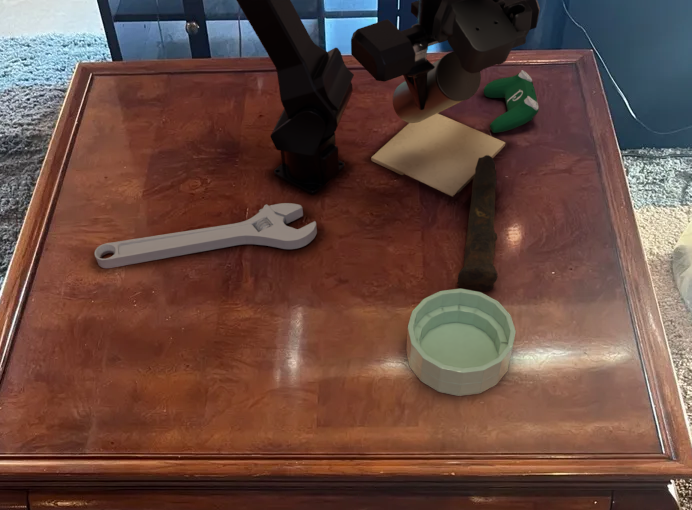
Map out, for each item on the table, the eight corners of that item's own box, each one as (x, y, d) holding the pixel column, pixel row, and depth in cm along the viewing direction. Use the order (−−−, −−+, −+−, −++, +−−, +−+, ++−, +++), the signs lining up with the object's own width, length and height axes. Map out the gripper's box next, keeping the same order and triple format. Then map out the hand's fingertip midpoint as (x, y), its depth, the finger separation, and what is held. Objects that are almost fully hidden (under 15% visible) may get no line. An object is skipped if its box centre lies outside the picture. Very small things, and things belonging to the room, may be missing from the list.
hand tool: (493, 297, 86) (499, 267, 83) (456, 292, 87) (460, 262, 83) (506, 179, 98) (512, 149, 94) (473, 176, 98) (477, 145, 94)
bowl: (387, 364, 82) (387, 337, 78) (443, 302, 86) (446, 273, 83) (473, 416, 77) (478, 390, 74) (527, 347, 82) (534, 320, 79)
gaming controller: (506, 147, 104) (545, 119, 100) (487, 130, 102) (527, 101, 98) (497, 102, 109) (534, 75, 106) (480, 86, 107) (517, 57, 104)
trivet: (370, 160, 101) (371, 157, 100) (425, 111, 106) (425, 107, 106) (452, 199, 96) (452, 195, 95) (505, 146, 101) (505, 142, 101)
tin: (383, 100, 92) (427, 73, 80) (411, 71, 92) (459, 40, 81) (411, 132, 93) (458, 110, 81) (439, 104, 94) (490, 78, 82)
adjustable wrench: (97, 271, 91) (92, 261, 90) (101, 231, 95) (97, 220, 94) (316, 247, 92) (315, 236, 90) (311, 209, 96) (310, 197, 94)
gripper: (410, 29, 67) (403, 173, 80) (590, -33, 72) (557, 113, 84) (346, -30, 74) (350, 113, 86) (516, -83, 78) (496, 59, 91)
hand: (440, 100), depth 86 cm, fingers closed on tin, 5 cm apart
